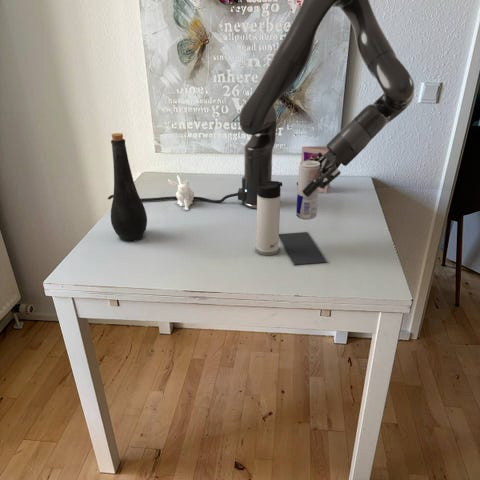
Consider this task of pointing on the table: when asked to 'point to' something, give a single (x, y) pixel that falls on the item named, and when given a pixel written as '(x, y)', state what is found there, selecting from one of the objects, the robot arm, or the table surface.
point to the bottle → (125, 196)
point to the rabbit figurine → (183, 193)
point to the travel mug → (268, 217)
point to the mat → (301, 248)
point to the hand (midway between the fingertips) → (301, 190)
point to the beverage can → (306, 176)
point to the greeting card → (310, 154)
